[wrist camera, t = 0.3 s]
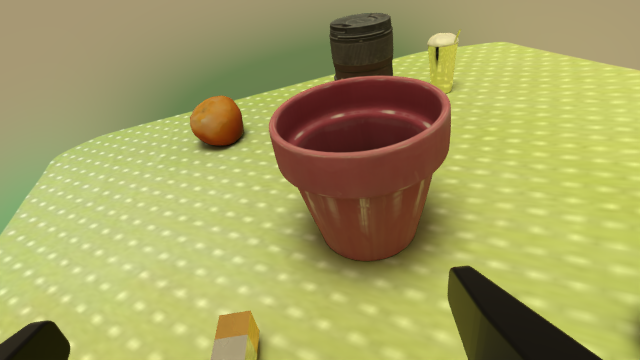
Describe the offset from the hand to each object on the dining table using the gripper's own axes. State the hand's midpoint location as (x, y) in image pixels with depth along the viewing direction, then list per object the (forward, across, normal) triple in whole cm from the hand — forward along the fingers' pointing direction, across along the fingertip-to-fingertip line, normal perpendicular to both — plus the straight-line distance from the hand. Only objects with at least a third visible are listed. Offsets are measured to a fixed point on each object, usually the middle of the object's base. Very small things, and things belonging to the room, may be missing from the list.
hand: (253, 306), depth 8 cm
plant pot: (+22, -6, +15) cm, 27 cm away
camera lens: (+44, -10, +13) cm, 47 cm away
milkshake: (+52, -24, +12) cm, 58 cm away
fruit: (+48, +13, +14) cm, 52 cm away
